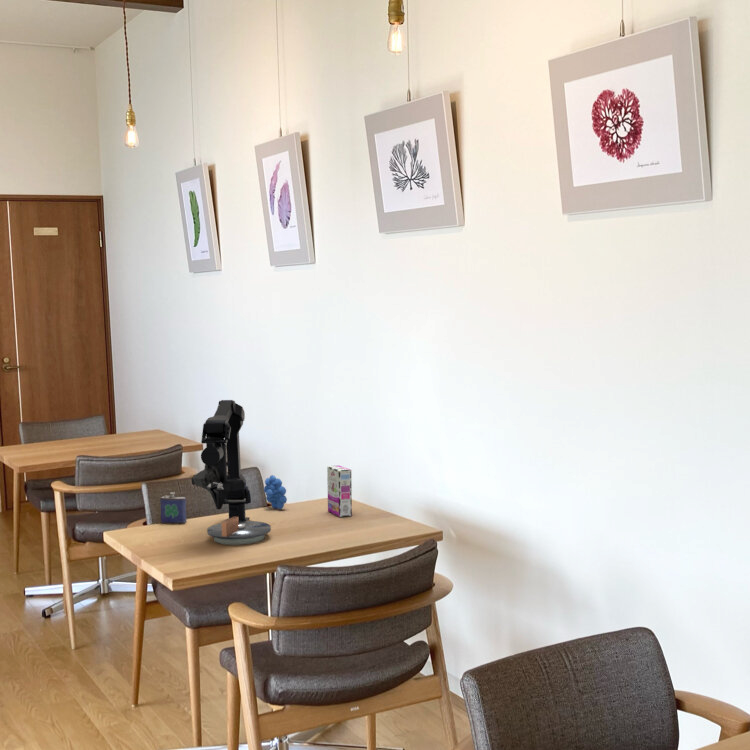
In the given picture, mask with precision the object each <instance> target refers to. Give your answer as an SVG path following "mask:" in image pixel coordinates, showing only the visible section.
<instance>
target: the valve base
mask: <svg viewBox="0 0 750 750" xmlns="http://www.w3.org/2000/svg"><path fill="white" fill-rule="evenodd" d="M265 536H266V534H265V535H262V536H258V537H253V538H245V539H221V538H215V537H213V540H214V542H215V543H217V544H221V545H229V546H236V545H237V546H239V545H248V544H250V545H251V544H254V543H259V542H261V541H263V540H264V539H265V538H266V537H265Z"/></svg>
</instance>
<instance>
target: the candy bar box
mask: <svg viewBox="0 0 750 750" xmlns="http://www.w3.org/2000/svg"><path fill="white" fill-rule="evenodd" d="M326 468H327V470H326V471H327V473H326V474H327V512H329V513H330V514H332V515H333V516H336V517H338V518H345V517H346V518H347V517H352V516H353V513H352V512H353V511H352V510H353V508H352V506H353V505H352V504H353V502H352V492H353V490H352V486H353V485H352V469H349V468H347V467H344V466H342V465H328V466H327V467H326Z"/></svg>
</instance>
